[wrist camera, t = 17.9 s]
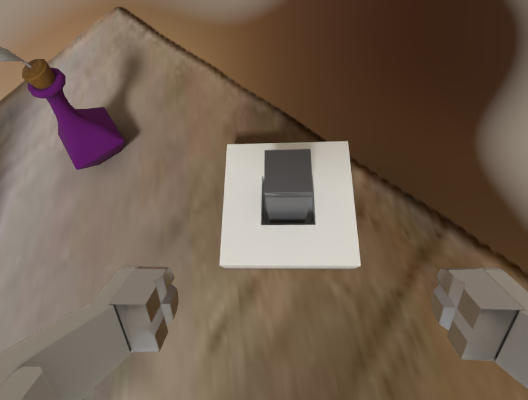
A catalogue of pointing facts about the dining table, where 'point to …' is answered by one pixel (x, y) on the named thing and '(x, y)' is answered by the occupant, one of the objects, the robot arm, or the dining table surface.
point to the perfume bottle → (72, 116)
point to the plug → (288, 184)
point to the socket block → (289, 234)
